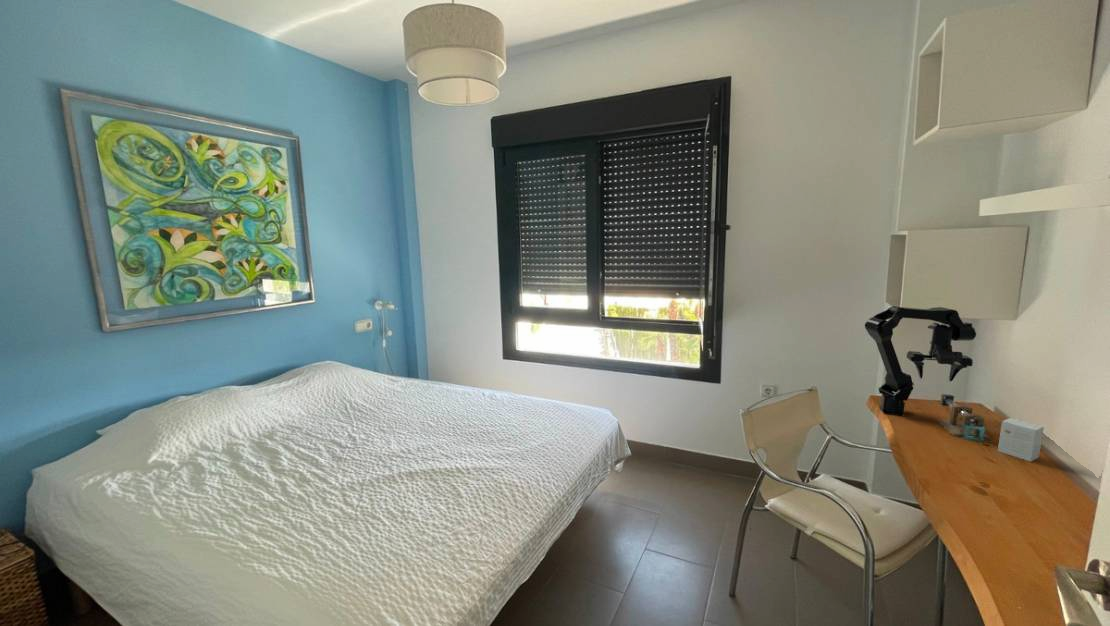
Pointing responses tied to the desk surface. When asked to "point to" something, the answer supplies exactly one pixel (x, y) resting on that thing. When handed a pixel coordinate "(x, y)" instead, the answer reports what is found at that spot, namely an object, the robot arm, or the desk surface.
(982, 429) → the teal spacer
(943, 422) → the bearing stand
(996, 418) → the desk surface
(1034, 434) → the small box
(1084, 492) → the desk surface
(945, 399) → the steel shaft
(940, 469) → the desk surface
